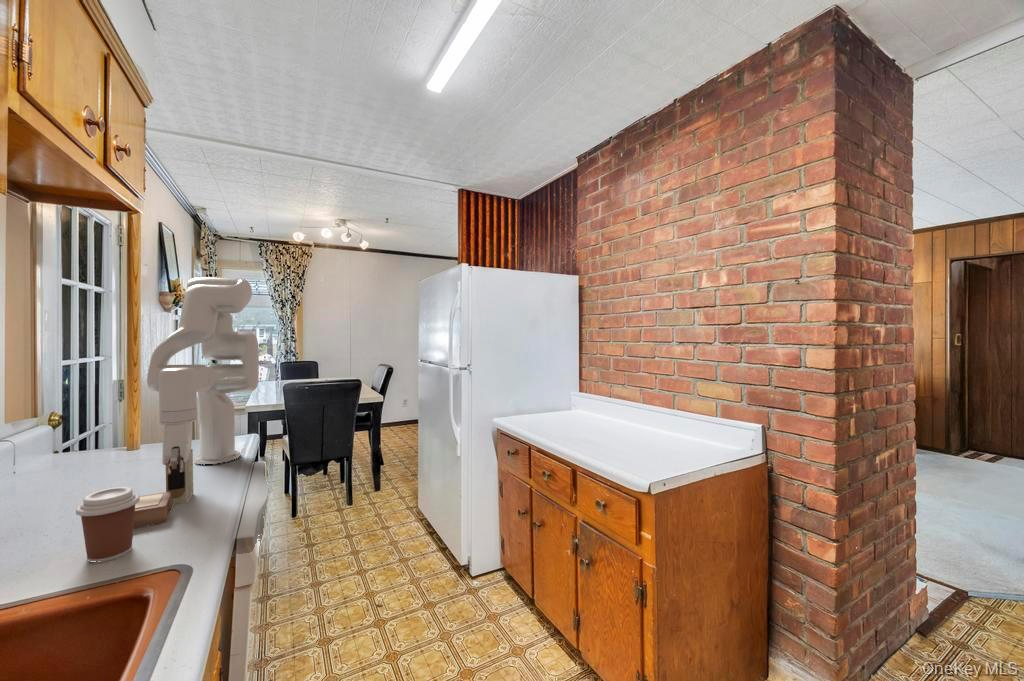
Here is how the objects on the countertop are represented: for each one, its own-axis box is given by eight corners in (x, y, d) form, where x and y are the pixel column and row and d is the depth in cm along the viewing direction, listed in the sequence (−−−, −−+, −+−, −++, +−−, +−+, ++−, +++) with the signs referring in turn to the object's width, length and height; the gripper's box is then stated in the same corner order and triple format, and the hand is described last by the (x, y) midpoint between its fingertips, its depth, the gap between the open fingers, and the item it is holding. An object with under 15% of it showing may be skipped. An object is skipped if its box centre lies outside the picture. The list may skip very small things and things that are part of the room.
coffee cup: (132, 537, 89) (131, 481, 89) (147, 550, 84) (146, 491, 84) (71, 556, 82) (69, 495, 81) (83, 572, 77) (81, 507, 76)
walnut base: (118, 515, 99) (118, 498, 99) (172, 506, 105) (172, 490, 104) (106, 533, 91) (105, 515, 91) (165, 522, 96) (165, 505, 96)
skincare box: (174, 496, 111) (173, 450, 110) (194, 493, 112) (193, 448, 112) (165, 506, 105) (164, 457, 104) (186, 503, 106) (185, 455, 106)
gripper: (165, 411, 113) (166, 475, 113) (152, 424, 98) (153, 497, 99) (200, 409, 117) (201, 470, 117) (192, 420, 102) (193, 491, 103)
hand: (179, 482), depth 108 cm, fingers open, 9 cm apart
